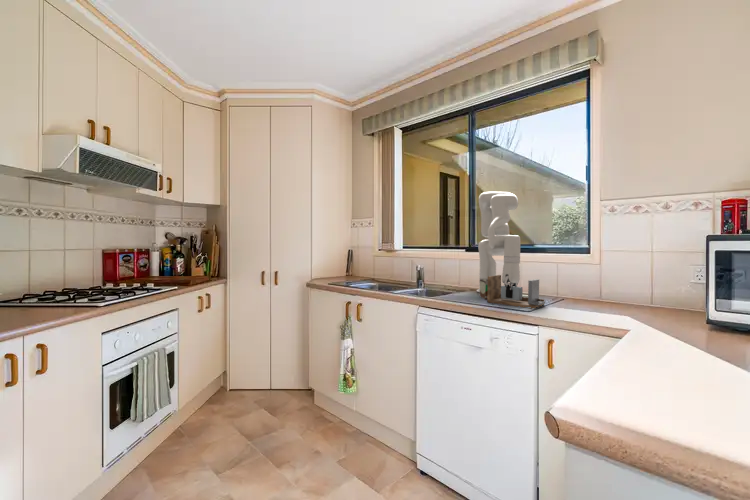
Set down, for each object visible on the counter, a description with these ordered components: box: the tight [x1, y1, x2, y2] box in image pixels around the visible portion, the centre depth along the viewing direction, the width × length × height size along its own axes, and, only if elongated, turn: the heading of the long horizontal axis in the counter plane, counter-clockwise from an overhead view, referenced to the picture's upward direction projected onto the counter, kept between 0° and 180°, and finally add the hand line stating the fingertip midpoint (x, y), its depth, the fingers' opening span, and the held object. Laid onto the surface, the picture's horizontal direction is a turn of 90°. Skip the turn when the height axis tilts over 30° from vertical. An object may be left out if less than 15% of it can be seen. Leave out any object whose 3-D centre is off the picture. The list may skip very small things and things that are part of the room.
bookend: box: [527, 278, 546, 305], centre depth 164 cm, size 9×5×11 cm, turn 134°
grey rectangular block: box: [501, 285, 523, 300], centre depth 173 cm, size 4×9×6 cm, turn 44°
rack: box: [486, 274, 545, 309], centre depth 171 cm, size 12×23×13 cm, turn 44°
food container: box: [479, 277, 488, 300], centre depth 189 cm, size 12×6×10 cm, turn 179°
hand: (511, 296), depth 173 cm, fingers closed on grey rectangular block, 4 cm apart
